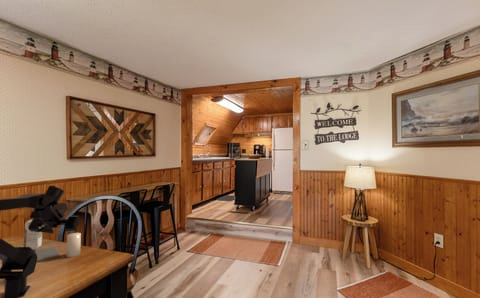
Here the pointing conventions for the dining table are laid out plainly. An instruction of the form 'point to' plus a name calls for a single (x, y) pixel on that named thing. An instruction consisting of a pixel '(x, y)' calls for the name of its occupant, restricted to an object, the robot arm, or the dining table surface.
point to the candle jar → (73, 244)
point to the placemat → (46, 253)
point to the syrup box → (32, 237)
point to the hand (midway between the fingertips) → (63, 232)
